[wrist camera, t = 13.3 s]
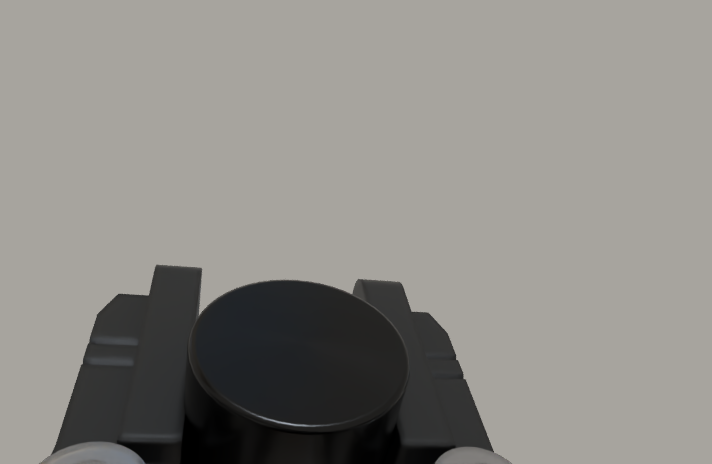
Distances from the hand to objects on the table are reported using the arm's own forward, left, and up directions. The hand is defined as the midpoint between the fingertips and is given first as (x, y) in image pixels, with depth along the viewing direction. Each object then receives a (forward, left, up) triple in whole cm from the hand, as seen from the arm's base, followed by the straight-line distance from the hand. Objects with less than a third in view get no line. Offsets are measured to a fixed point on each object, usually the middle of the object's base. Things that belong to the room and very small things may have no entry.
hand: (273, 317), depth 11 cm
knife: (+1, -3, -20) cm, 20 cm away
